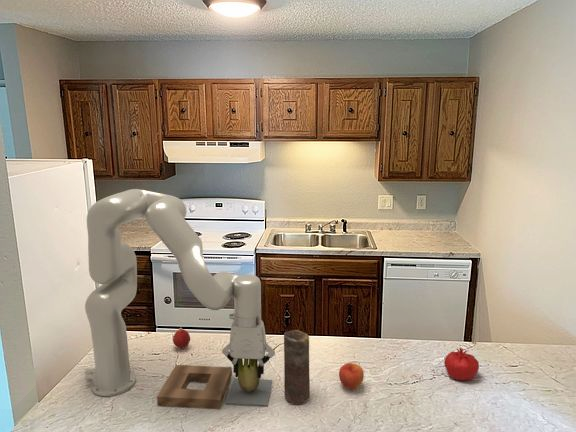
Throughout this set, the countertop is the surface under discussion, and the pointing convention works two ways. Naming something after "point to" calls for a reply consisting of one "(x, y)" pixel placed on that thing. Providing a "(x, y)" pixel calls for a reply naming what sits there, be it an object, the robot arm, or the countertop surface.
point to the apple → (351, 375)
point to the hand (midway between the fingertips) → (248, 374)
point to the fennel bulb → (248, 374)
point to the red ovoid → (181, 338)
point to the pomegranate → (461, 365)
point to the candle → (296, 367)
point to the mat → (249, 394)
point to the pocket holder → (191, 398)
